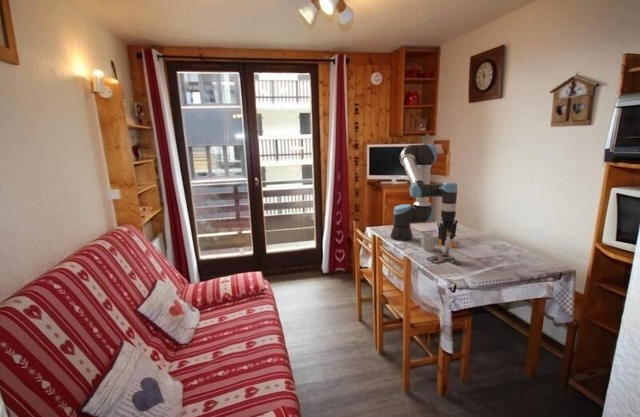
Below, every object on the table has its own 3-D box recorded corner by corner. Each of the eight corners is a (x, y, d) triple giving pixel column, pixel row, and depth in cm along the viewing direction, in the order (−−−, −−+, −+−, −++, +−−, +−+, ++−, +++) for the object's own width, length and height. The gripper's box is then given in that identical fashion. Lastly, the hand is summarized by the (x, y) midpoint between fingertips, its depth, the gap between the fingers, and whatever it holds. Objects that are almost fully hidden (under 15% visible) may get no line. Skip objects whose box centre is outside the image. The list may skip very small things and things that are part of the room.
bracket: (456, 248, 202) (457, 230, 200) (444, 249, 202) (446, 231, 199) (448, 243, 213) (449, 226, 210) (437, 244, 213) (438, 226, 210)
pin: (440, 253, 185) (441, 231, 182) (445, 252, 186) (447, 230, 183) (446, 255, 181) (447, 233, 178) (451, 254, 183) (452, 232, 180)
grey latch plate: (436, 259, 186) (436, 256, 186) (445, 257, 189) (445, 254, 189) (456, 268, 173) (456, 264, 173) (465, 265, 176) (466, 262, 176)
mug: (415, 248, 205) (415, 233, 203) (425, 246, 208) (426, 231, 206) (427, 254, 195) (428, 238, 193) (438, 251, 198) (439, 236, 196)
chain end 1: (445, 255, 189) (445, 252, 188) (454, 259, 183) (455, 255, 182) (425, 259, 182) (425, 256, 182) (434, 264, 176) (434, 260, 176)
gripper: (443, 213, 172) (440, 254, 177) (464, 209, 178) (461, 249, 183) (432, 210, 178) (430, 250, 183) (453, 207, 185) (451, 246, 190)
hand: (446, 250), depth 183 cm, fingers closed on pin, 3 cm apart
